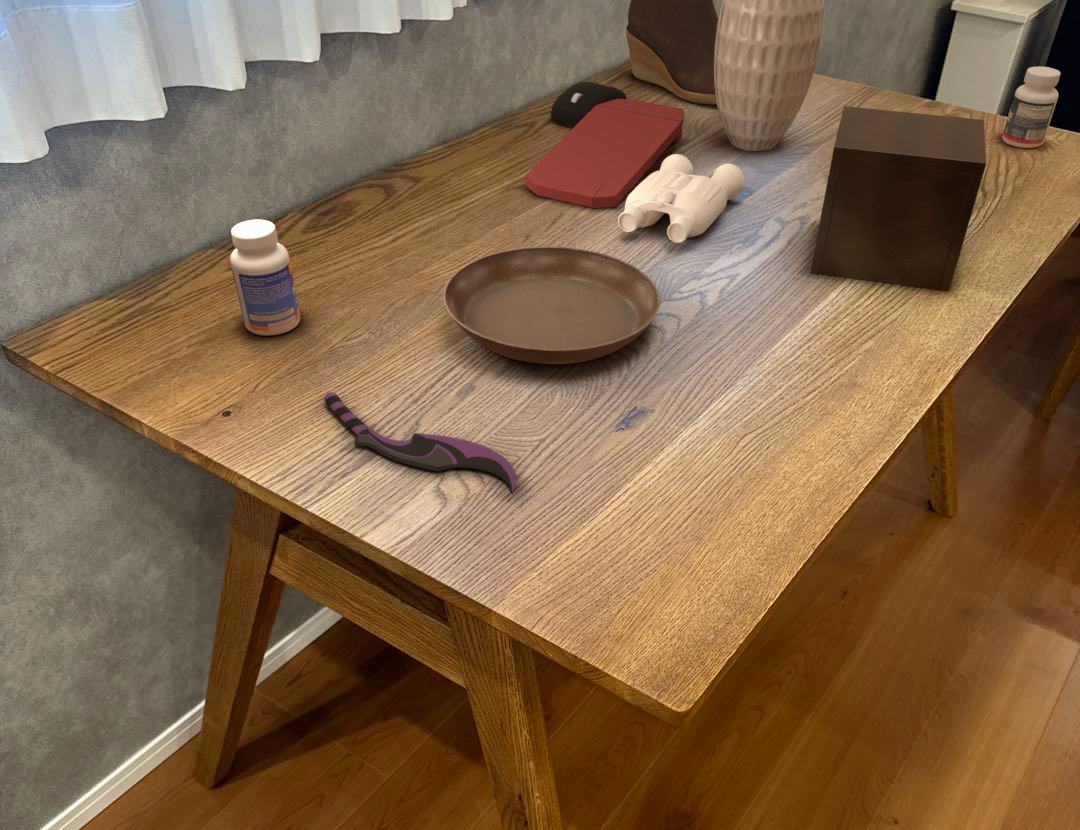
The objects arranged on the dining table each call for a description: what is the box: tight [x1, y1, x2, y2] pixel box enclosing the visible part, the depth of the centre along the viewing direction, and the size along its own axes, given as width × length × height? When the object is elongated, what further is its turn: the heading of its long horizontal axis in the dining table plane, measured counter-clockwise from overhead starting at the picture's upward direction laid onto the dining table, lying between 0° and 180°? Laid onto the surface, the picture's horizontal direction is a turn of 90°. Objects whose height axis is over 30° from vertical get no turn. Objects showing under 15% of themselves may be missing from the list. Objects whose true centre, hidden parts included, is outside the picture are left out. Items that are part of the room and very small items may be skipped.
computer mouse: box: [550, 81, 628, 128], centre depth 141 cm, size 8×12×4 cm, turn 139°
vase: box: [714, 0, 825, 152], centre depth 125 cm, size 13×13×28 cm
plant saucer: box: [442, 246, 661, 365], centre depth 98 cm, size 21×21×3 cm
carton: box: [524, 98, 685, 209], centre depth 128 cm, size 12×5×25 cm
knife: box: [323, 391, 518, 493], centre depth 84 cm, size 21×1×5 cm
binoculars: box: [617, 153, 746, 244], centre depth 115 cm, size 10×16×5 cm, turn 153°
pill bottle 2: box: [1001, 66, 1061, 149], centre depth 132 cm, size 5×5×9 cm
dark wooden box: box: [809, 105, 987, 292], centre depth 105 cm, size 14×12×13 cm
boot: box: [625, 0, 718, 105], centre depth 143 cm, size 9×24×20 cm, turn 47°
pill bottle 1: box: [229, 219, 301, 336], centre depth 96 cm, size 5×5×10 cm
